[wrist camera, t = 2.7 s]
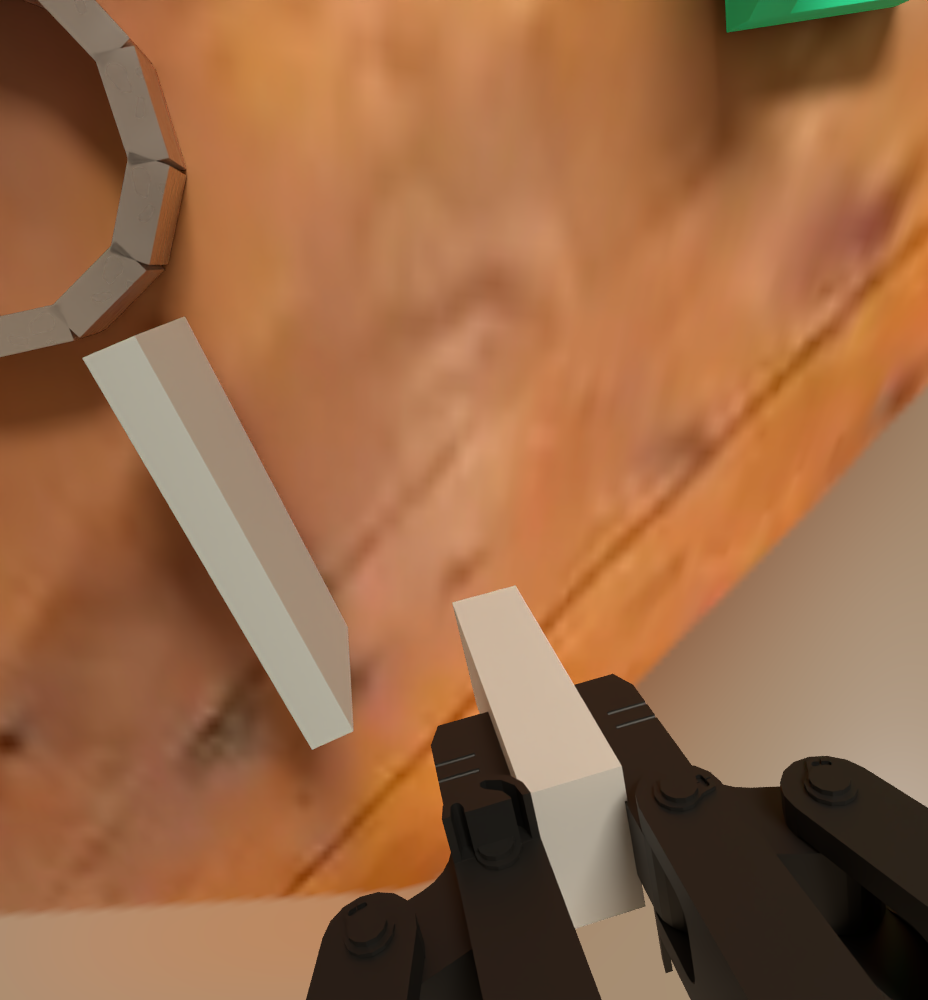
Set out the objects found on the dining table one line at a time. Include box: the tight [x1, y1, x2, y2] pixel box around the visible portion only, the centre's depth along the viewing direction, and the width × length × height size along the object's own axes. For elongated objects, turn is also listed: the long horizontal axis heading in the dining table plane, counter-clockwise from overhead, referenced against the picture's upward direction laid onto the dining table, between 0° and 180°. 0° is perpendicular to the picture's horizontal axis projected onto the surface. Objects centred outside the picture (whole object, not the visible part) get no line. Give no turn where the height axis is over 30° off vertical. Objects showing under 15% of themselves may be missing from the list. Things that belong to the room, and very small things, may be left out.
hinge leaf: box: [83, 316, 354, 750], centre depth 26 cm, size 2×14×8 cm, turn 22°
